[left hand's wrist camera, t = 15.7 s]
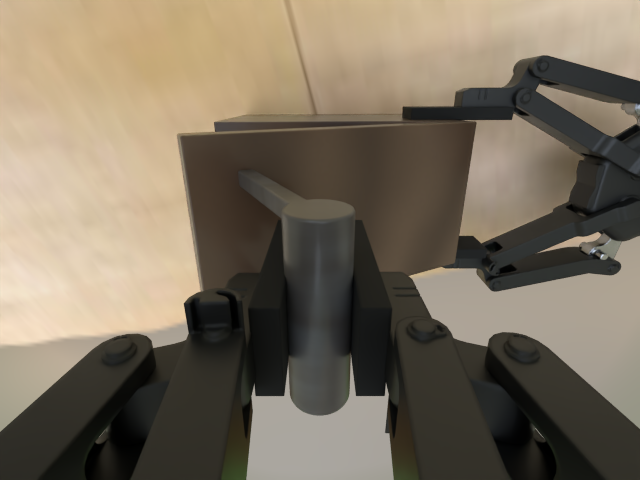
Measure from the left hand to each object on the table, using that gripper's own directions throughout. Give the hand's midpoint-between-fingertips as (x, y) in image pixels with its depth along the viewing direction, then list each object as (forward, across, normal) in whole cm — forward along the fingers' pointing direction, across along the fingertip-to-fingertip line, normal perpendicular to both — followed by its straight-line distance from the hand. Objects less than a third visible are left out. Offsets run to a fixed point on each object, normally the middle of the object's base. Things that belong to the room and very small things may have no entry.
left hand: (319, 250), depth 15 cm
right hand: (+12, +6, 0) cm, 13 cm away
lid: (+5, +1, 0) cm, 6 cm away
